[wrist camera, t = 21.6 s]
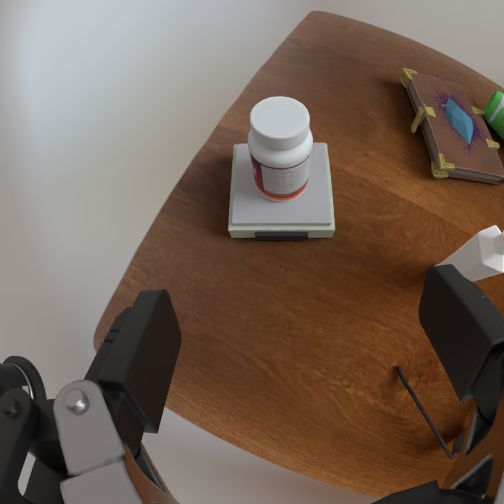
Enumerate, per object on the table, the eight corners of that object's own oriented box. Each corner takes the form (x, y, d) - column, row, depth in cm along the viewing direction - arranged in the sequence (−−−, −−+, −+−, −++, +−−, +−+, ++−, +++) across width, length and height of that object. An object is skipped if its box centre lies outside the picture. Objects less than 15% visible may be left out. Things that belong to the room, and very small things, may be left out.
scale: (231, 242, 37) (226, 232, 34) (236, 155, 40) (232, 140, 37) (331, 241, 36) (336, 231, 32) (324, 154, 39) (327, 139, 36)
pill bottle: (256, 158, 36) (245, 92, 25) (307, 159, 35) (313, 92, 24) (253, 203, 34) (239, 142, 23) (308, 204, 33) (317, 143, 23)
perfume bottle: (433, 252, 34) (499, 202, 19) (457, 272, 33) (529, 232, 18) (418, 281, 33) (487, 242, 19) (442, 301, 32) (518, 273, 17)
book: (454, 84, 43) (464, 67, 38) (499, 191, 36) (515, 177, 31) (384, 67, 44) (391, 47, 39) (421, 180, 37) (436, 161, 32)
